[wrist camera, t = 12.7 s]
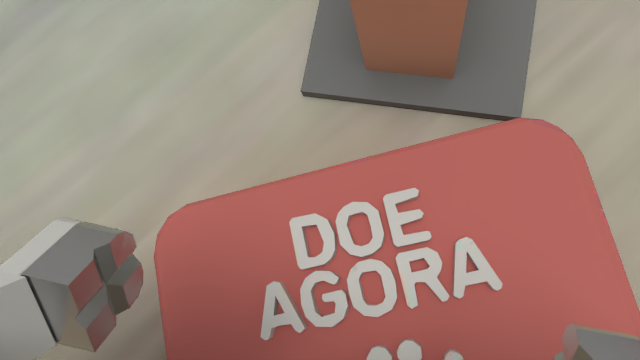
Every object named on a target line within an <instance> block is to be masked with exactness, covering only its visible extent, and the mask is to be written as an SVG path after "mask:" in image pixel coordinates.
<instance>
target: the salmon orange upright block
mask: <svg viewBox="0 0 640 360" xmlns="http://www.w3.org/2000/svg"><path fill="white" fill-rule="evenodd" d="M350 4H351V8H352V12H353V17H354V21H355V25H356V29H357V34H358V38H359V42H360V46H361V51H362V55H363V59H364V63H365V68H366V70H373V71H382V72H392V73H401V74H410V75H420V76H429V77H439V78H448V79H453V77H454V72H455V66H456V61H457V56H458V51H459V45H460V40H461V35H462V30H463V25H464V19H465V14H466V9H467V4H468V0H350Z"/></svg>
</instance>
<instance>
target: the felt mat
mask: <svg viewBox="0 0 640 360" xmlns="http://www.w3.org/2000/svg"><path fill="white" fill-rule="evenodd" d="M536 1H537V0H468V4H467V9H466V14H465V19H464V25H463V30H462V35H461V40H460V45H459V51H458V56H457V61H456V66H455V72H454V77H453V79H448V78H439V77H429V76H420V75H410V74H401V73H392V72H382V71H373V70H366V68H365V63H364V59H363V55H362V51H361V46H360V42H359V38H358V34H357V29H356V25H355V21H354V17H353V12H352V8H351V4H350V0H320V1H319V6H318V11H317V16H316V21H315V25H314V30H313V35H312V40H311V45H310V49H309V54H308V59H307V64H306V69H305V73H304V78H303V83H302V88H301V92H302V94H303V96H311V97H319V98H327V99H336V100H344V101H352V102H360V103H368V104H376V105H384V106H392V107H400V108H408V109H416V110H424V111H433V112H441V113H449V114H457V115H465V116H473V117H481V118H489V119H497V120H505V121H509V120H513V119H517V118H521V113H522V105H523V98H524V90H525V83H526V75H527V68H528V61H529V53H530V46H531V38H532V31H533V23H534V16H535V8H536Z"/></svg>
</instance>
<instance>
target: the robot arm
mask: <svg viewBox="0 0 640 360" xmlns="http://www.w3.org/2000/svg"><path fill="white" fill-rule="evenodd" d="M135 248H136V244H135V241H134V238H133V235H132V234H130V233H128V232H126V231H122V230H117V229H113V228H109V227H105V226H100V225H96V224H92V223H88V222H82V221H78V220H73V219H69V218H65V217H63V218H59V219H56V220H54V221H53V222H51V223H50V224H49V225H48V226H47V227H45V228H44V229H43V230H42V231H41V232H40V233H38V234H37V235H36V236H35V237H34V238H33V239H31V240H30V241H29V242H28V243H27V244H25V245H24V246H23V247H22V248H21V249H20V250H18V251H17V252H16V253H15V254H14V255H13V256H11V257H10V258H9V259H8V260H7V261H5V262H4V263H3V264H2V265H1V266H0V360H34V359H36V358H38V357H39V356H41V355H42V354H44V353H46V352H47V351H49V350H50V349H52V348H54V347H55V346H56V345H57V344H56V343H58V344H62V345H67V346H71V347H75V348H79V349H83V350H87V351H91V352H95V351H96V350H97V349H98V348H99V346H100V345H101V344H102V342H103V341H104V340H105V339H106V337H107V336H108V335H109V334H110V332H111V331H112V330H113V329H114V327H115V326H116V315H117V314H119V313H121V312H123V311H125V310H127V309H129V308H130V307H131V305H132V304H133V303H134V301H135V300H136V299H137V297H138V295H139V292H140V289H141V287H142V284H143V270H142V266H141V263H140V262H139V261H138V260H137V258H136V257H135V256H134V255H133V254H132V253H133V251H134V250H135ZM562 343H563V351H562V352H560V353H558V354H556V355H554V357H553V360H640V337H637V336H634V335H629V334H624V333H619V332H613V331H608V330H603V329H598V328H593V327H588V326H583V325H578V324H573V323H571V324H570V325H569V326H568V327H567V328H566V330H565V332H564V334H563V336H562Z"/></svg>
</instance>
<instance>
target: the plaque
mask: <svg viewBox="0 0 640 360" xmlns="http://www.w3.org/2000/svg"><path fill="white" fill-rule="evenodd" d="M154 261H155V269H156V277H157V284H158V292H159V300H160V307H161V315H162V323H163V330H164V338H165V346H166V353H167V360H553V357H554V355H556V354H558V353H560V352H562V351H563V343H562V336H563V334H564V332H565V330H566V328H567V327H568V326H569V325H570V324H571V323H573V324H578V325H583V326H588V327H593V328H598V329H603V330H608V331H613V332H619V333H624V334H629V335H634V336H637V337H640V312H639V309H638V306H637V304H636V301H635V298H634V295H633V292H632V290H631V287H630V284H629V281H628V278H627V276H626V273H625V270H624V267H623V264H622V262H621V259H620V256H619V253H618V250H617V248H616V245H615V242H614V239H613V236H612V234H611V231H610V228H609V225H608V222H607V220H606V217H605V214H604V211H603V208H602V206H601V203H600V200H599V197H598V194H597V192H596V189H595V186H594V183H593V180H592V178H591V175H590V172H589V169H588V166H587V164H586V161H585V158H584V155H583V154H582V152H581V151H580V149H579V148H578V146H577V145H576V144H575V142H574V141H573V139H572V138H571V137H570V136H569V135H567V134H566V133H565V132H564V131H563V130H562V129H560V128H559V127H557V126H555V125H553V124H551V123H548V122H546V121H544V120H539V119H527V118H517V119H513V120H509V121H505V122H501V123H497V124H493V125H490V126H486V127H482V128H478V129H474V130H470V131H467V132H463V133H459V134H455V135H451V136H447V137H444V138H440V139H436V140H432V141H428V142H424V143H421V144H417V145H413V146H409V147H405V148H401V149H397V150H394V151H390V152H386V153H382V154H378V155H374V156H371V157H367V158H363V159H359V160H355V161H351V162H348V163H344V164H340V165H336V166H332V167H328V168H324V169H321V170H317V171H313V172H309V173H305V174H301V175H298V176H294V177H290V178H286V179H282V180H278V181H275V182H271V183H267V184H263V185H259V186H255V187H252V188H248V189H244V190H240V191H236V192H232V193H228V194H225V195H221V196H217V197H213V198H209V199H205V200H202V201H198V202H194V203H190V204H187V205H185V206H184V207H182V208H181V209H179V210H178V211H176V212H175V213H173V214H172V215H170V216H169V217H168V218H167V220H166V222H165V223H164V225H163V226H162V228H161V230H160V231H159V233H158V235H157V241H156V247H155V253H154Z"/></svg>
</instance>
